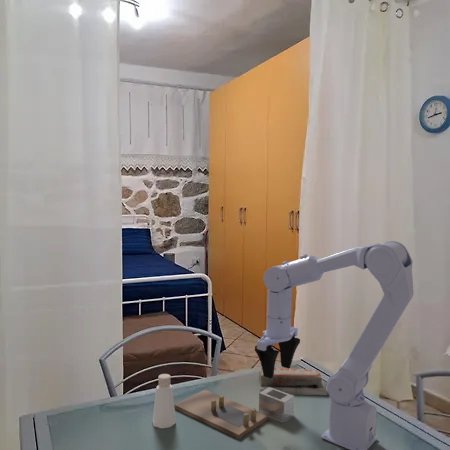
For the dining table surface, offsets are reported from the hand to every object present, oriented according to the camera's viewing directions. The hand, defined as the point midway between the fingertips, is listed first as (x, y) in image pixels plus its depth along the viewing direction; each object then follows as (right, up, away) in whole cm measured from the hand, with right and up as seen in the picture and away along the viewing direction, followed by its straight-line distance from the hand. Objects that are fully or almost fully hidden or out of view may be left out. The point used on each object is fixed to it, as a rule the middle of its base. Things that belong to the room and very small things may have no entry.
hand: (277, 371), depth 104 cm
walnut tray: (-14, -10, 0) cm, 17 cm away
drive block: (0, -11, +1) cm, 10 cm away
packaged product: (+6, -10, +16) cm, 20 cm away
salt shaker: (-26, -10, -4) cm, 29 cm away
